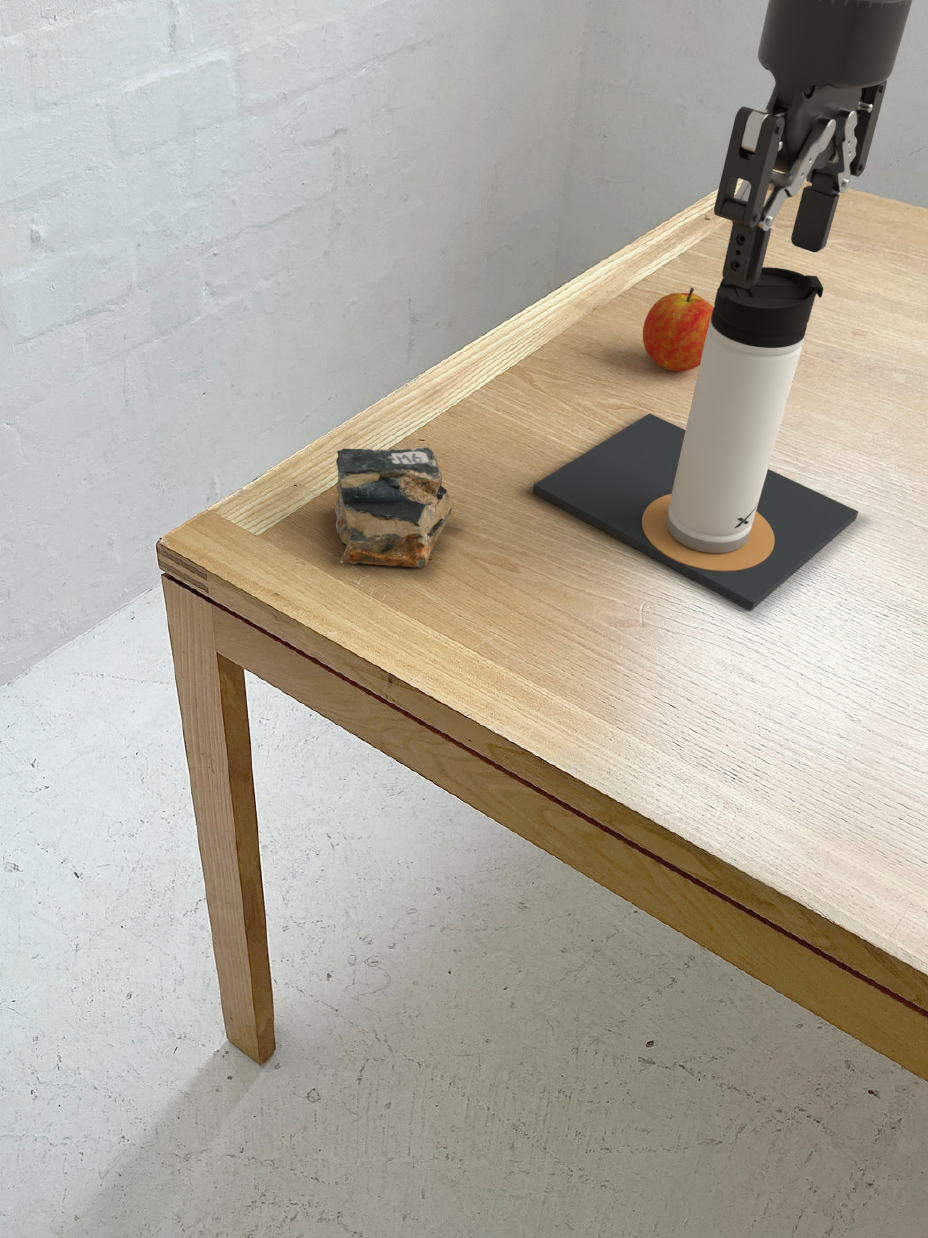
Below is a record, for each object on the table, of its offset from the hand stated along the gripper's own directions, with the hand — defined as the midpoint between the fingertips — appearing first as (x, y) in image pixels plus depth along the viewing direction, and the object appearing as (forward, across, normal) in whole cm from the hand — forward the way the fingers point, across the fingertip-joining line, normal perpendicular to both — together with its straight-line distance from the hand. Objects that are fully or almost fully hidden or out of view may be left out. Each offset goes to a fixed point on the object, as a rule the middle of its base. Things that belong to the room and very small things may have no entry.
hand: (774, 264), depth 72 cm
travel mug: (+21, 0, 0) cm, 21 cm away
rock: (+22, -17, +17) cm, 33 cm away
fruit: (+22, +21, +17) cm, 35 cm away
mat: (+22, +3, +3) cm, 22 cm away
